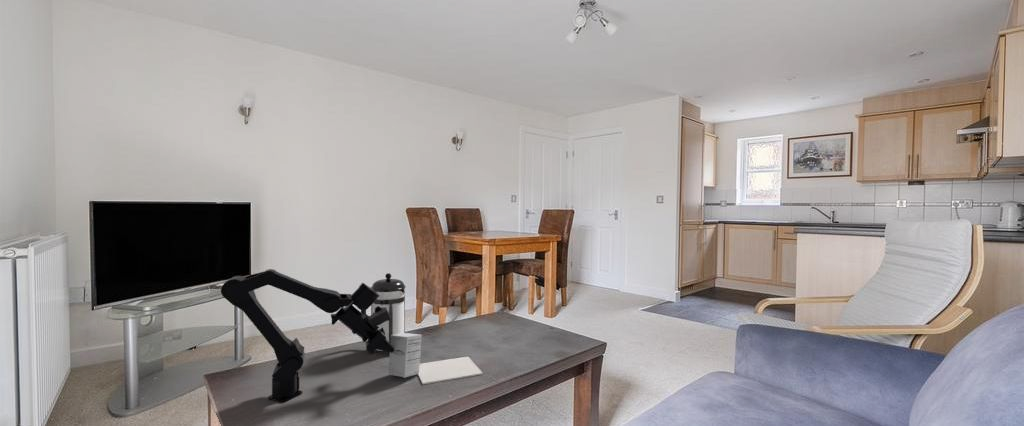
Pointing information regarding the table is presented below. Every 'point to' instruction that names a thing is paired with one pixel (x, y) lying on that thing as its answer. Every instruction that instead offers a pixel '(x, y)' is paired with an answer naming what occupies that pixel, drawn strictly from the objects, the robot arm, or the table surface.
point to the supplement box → (405, 355)
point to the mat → (447, 370)
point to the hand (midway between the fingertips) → (393, 350)
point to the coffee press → (390, 305)
